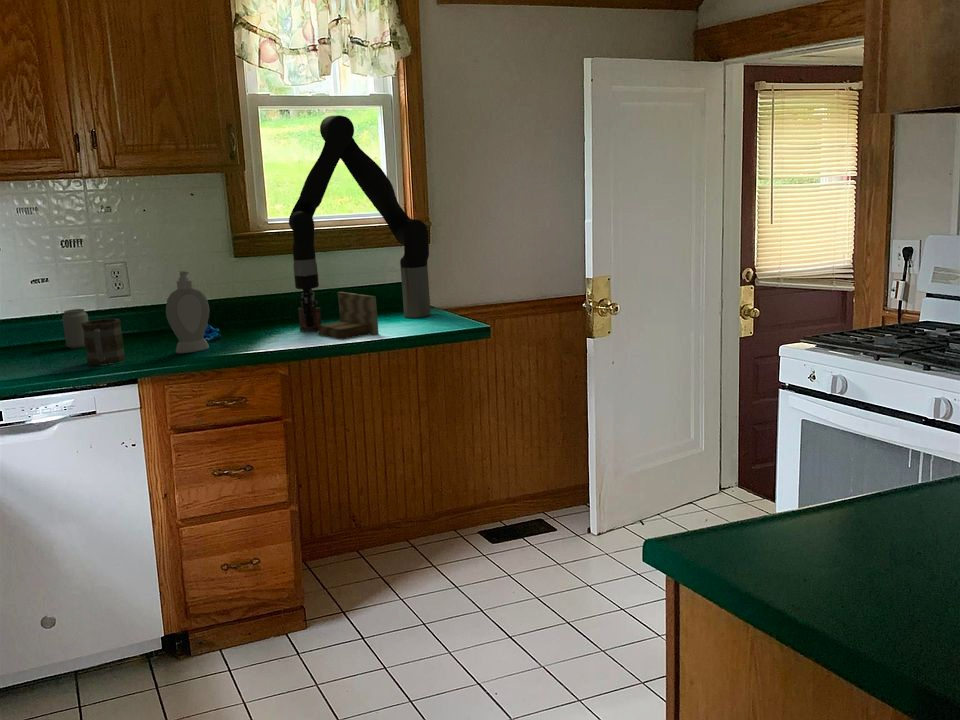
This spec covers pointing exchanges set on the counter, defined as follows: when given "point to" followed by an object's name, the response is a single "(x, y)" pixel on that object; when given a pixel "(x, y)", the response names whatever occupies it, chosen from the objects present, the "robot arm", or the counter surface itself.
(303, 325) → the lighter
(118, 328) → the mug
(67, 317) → the can
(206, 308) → the soap bottle
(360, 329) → the wooden bookend
